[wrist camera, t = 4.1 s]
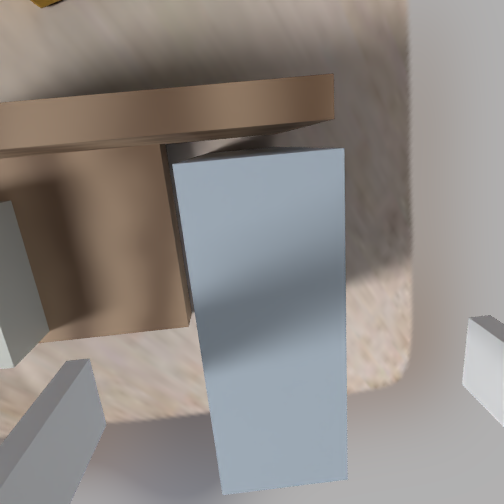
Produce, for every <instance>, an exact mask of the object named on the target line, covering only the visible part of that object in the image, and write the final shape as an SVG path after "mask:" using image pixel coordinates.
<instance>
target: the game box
mask: <svg viewBox="0 0 504 504" xmlns="http://www.w3.org/2000/svg"><path fill="white" fill-rule="evenodd" d="M30 1H32V2H33V3H34V4H36V5H37V6H38V7H40V8H44V7H46V6H48V5H50V4H52V3H55V2H57V1H60V0H30Z"/></svg>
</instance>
